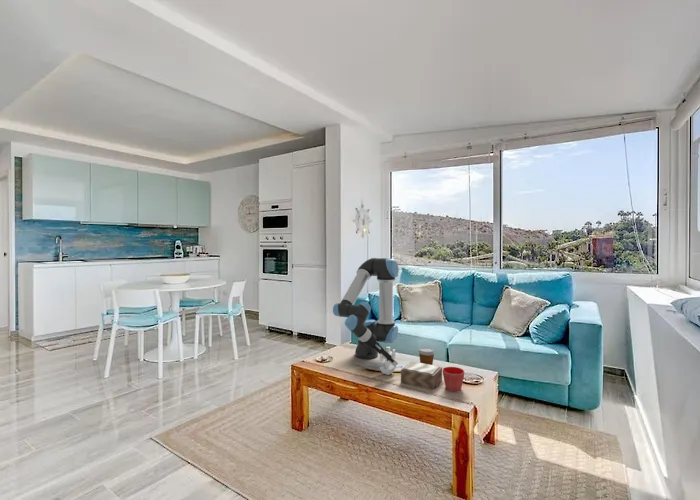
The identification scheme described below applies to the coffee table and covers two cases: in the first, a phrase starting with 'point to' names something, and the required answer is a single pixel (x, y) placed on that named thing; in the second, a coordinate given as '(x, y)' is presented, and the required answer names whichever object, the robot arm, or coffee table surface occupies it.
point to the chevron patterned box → (421, 375)
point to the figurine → (387, 362)
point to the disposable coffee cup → (426, 355)
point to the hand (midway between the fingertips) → (392, 362)
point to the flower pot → (453, 378)
